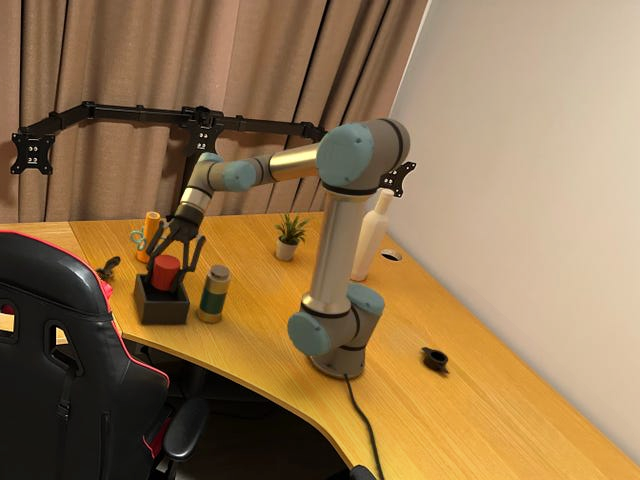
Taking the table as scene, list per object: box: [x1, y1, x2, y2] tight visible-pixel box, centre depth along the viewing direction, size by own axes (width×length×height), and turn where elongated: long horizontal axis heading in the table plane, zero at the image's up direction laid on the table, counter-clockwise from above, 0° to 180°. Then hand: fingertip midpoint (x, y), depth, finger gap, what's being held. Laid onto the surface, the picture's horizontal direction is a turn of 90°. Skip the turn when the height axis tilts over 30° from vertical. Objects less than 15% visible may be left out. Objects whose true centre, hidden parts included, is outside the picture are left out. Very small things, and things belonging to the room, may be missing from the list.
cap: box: [151, 254, 181, 290], centre depth 171 cm, size 7×7×7 cm
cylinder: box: [129, 211, 166, 264], centre depth 193 cm, size 12×10×15 cm
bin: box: [133, 273, 191, 325], centre depth 176 cm, size 14×13×7 cm
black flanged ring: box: [420, 346, 451, 375], centre depth 178 cm, size 8×10×3 cm
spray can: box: [197, 264, 232, 324], centre depth 175 cm, size 7×7×16 cm
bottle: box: [350, 188, 395, 282], centre depth 199 cm, size 8×8×30 cm
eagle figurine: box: [94, 255, 122, 282], centre depth 184 cm, size 8×7×9 cm
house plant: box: [272, 208, 315, 262], centre depth 205 cm, size 14×14×16 cm
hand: (158, 287), depth 170 cm, fingers closed on cap, 7 cm apart
